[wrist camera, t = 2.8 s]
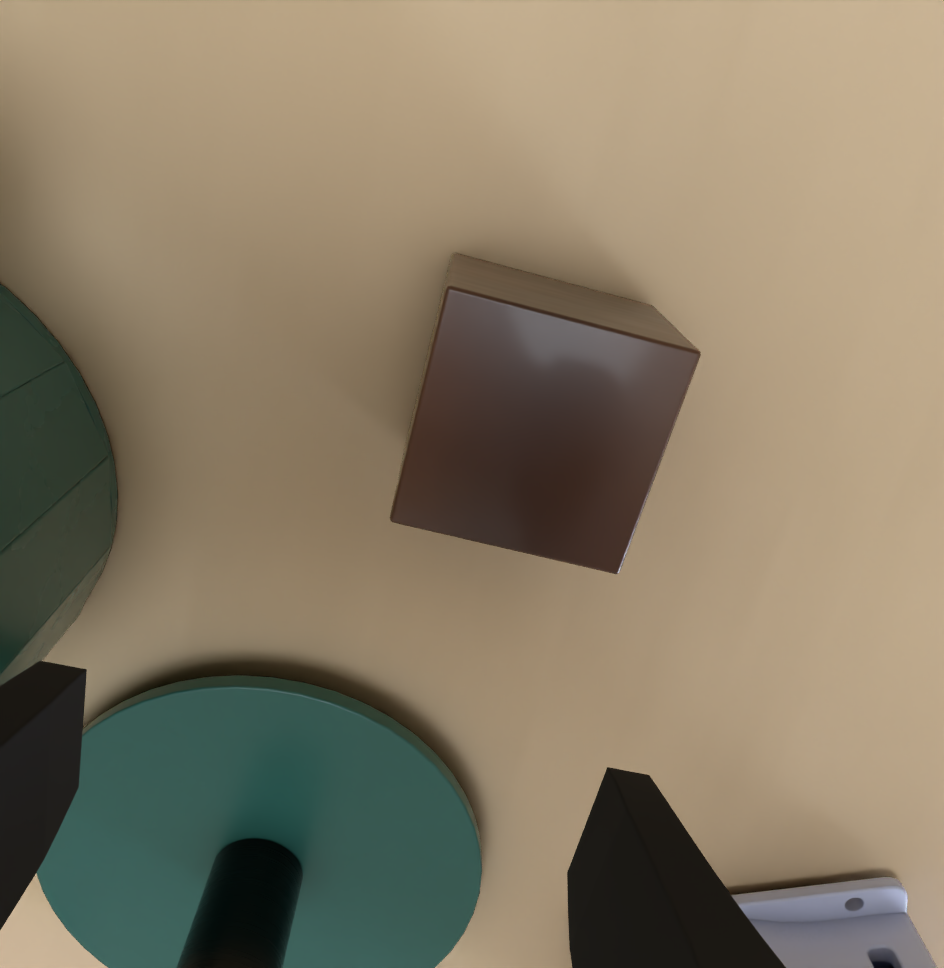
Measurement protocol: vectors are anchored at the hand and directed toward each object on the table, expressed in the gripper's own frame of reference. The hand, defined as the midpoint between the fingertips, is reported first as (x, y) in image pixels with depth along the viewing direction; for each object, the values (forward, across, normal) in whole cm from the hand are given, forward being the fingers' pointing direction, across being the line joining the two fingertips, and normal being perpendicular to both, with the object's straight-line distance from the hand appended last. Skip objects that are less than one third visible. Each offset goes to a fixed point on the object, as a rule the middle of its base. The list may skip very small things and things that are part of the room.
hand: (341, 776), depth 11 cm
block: (+9, -2, -4) cm, 10 cm away
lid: (+8, +2, +11) cm, 14 cm away
